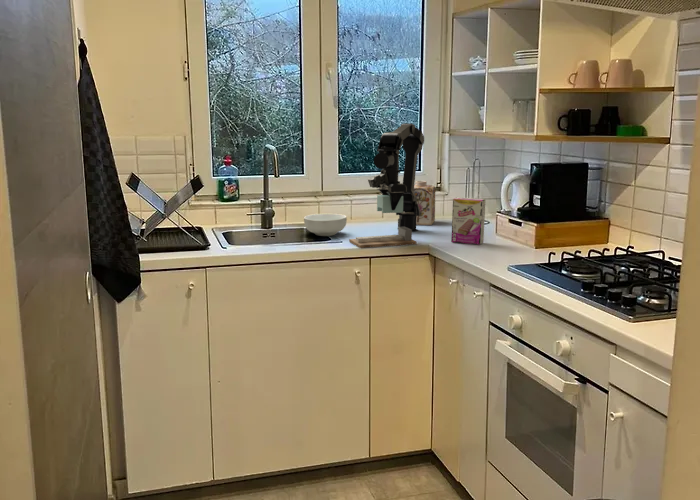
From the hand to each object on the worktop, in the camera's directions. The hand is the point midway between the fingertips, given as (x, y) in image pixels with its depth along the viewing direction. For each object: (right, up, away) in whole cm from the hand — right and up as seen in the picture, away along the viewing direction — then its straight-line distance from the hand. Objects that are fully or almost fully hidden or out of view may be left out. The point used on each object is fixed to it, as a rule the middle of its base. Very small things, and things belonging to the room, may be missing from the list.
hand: (390, 209), depth 269 cm
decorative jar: (+15, -4, +39) cm, 42 cm away
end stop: (+5, -12, -3) cm, 14 cm away
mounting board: (-3, -13, -5) cm, 14 cm away
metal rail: (-3, -13, -5) cm, 14 cm away
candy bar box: (+28, -13, -5) cm, 32 cm away
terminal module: (0, -1, 0) cm, 1 cm away
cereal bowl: (-25, -9, +12) cm, 29 cm away
